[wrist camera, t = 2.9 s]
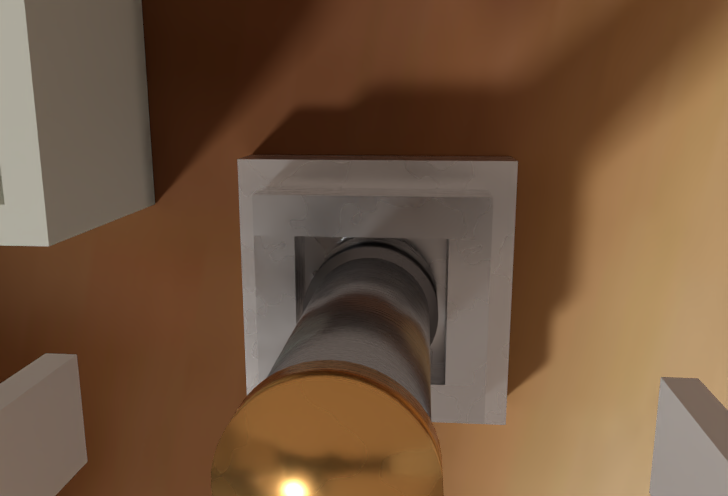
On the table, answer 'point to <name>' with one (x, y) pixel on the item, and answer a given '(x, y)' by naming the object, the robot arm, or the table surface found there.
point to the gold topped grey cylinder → (345, 387)
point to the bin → (71, 118)
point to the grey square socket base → (388, 220)
